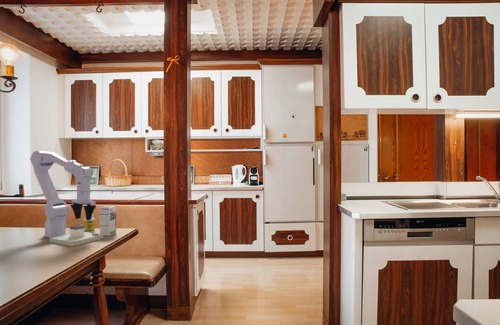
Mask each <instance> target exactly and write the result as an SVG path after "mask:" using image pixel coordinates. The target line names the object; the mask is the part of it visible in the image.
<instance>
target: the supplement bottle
mask: <svg viewBox="0 0 500 325" xmlns="http://www.w3.org/2000/svg"><path fill="white" fill-rule="evenodd" d="M94 215H95V214H94V213H93V214H92V217H91V220H86V214H84V216H85V217H84V218H83V225H85V228H84V232H89V233H95V228H96V217H94Z"/></svg>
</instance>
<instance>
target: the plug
mask: <svg viewBox="0 0 500 325" xmlns="http://www.w3.org/2000/svg"><path fill="white" fill-rule="evenodd" d="M84 228H85V225H84V224H75V225H70V226H69V234H70V238H79V237H83V236H84Z"/></svg>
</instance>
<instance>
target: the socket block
mask: <svg viewBox="0 0 500 325" xmlns="http://www.w3.org/2000/svg"><path fill="white" fill-rule="evenodd" d="M103 239H104V235H102V234H100V233H95V232H92V233H89V232H84V236H83V237H79V238H70V233H66V235H61V236H57V237H52V238H49V243H51V244H55V245H56V244H57V245H61V246H62V245H63V246H69V247H75V246H80V245H83V244H84V245H85V244H87V243H91V242H95V241H99V240H103Z"/></svg>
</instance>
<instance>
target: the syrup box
mask: <svg viewBox="0 0 500 325" xmlns="http://www.w3.org/2000/svg"><path fill="white" fill-rule="evenodd" d="M99 234H102V235H103V236H111V235H114V234H117V205H105V206H100V207H99Z"/></svg>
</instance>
